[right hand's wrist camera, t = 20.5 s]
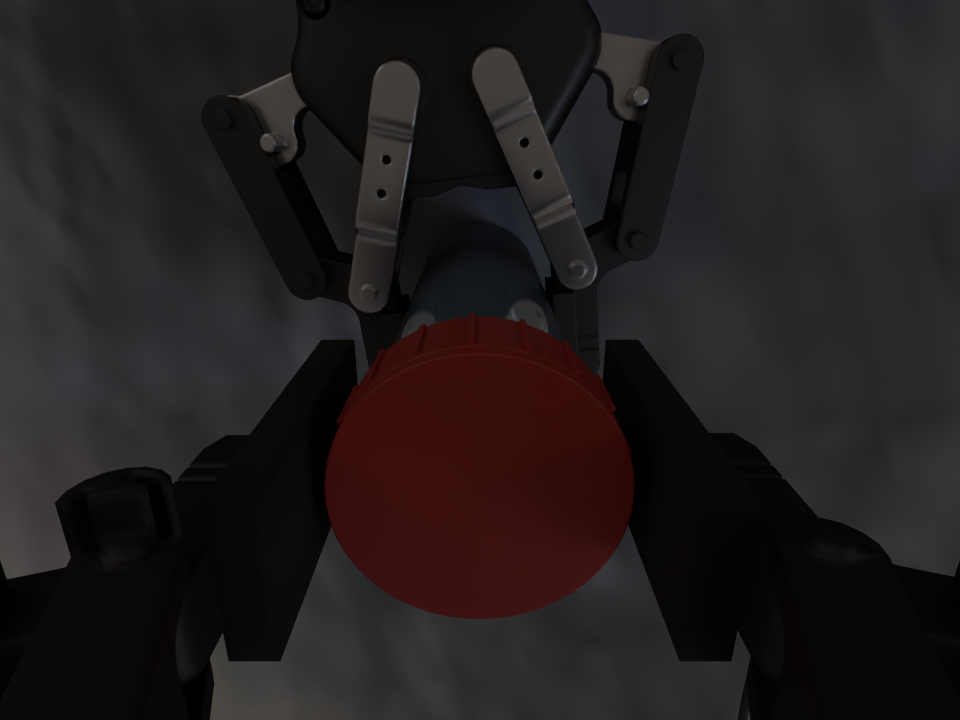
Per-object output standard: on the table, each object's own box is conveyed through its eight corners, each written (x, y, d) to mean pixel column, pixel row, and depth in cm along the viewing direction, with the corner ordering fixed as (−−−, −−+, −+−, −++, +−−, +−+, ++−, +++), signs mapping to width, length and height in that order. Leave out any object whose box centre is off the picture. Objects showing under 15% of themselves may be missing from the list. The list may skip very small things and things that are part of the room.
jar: (557, 270, 25) (663, 458, 11) (488, 352, 26) (498, 617, 12) (470, 199, 24) (455, 301, 10) (402, 288, 25) (300, 495, 11)
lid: (362, 556, 13) (342, 628, 11) (328, 318, 11) (296, 356, 9) (609, 546, 13) (631, 617, 11) (617, 304, 11) (646, 340, 9)
